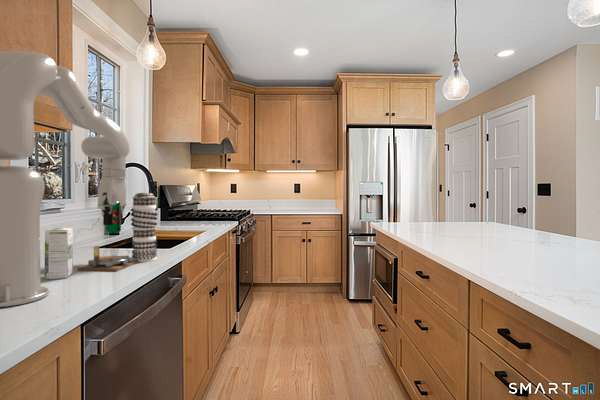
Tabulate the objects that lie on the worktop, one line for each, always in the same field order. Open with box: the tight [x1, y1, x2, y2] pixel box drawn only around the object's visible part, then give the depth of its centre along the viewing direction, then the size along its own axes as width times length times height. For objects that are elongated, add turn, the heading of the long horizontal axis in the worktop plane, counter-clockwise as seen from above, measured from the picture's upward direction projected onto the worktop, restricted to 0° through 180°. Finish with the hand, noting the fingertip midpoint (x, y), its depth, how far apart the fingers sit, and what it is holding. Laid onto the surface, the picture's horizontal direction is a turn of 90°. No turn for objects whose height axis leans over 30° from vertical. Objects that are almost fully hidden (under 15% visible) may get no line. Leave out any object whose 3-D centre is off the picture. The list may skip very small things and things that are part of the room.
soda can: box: [104, 202, 122, 234], centre depth 121 cm, size 5×5×12 cm
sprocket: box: [87, 245, 133, 267], centre depth 114 cm, size 13×13×6 cm
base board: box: [76, 260, 139, 272], centre depth 113 cm, size 13×13×1 cm
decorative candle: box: [130, 192, 159, 263], centre depth 124 cm, size 9×9×25 cm
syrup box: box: [44, 227, 74, 281], centre depth 99 cm, size 6×6×14 cm
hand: (113, 224), depth 121 cm, fingers closed on soda can, 5 cm apart
